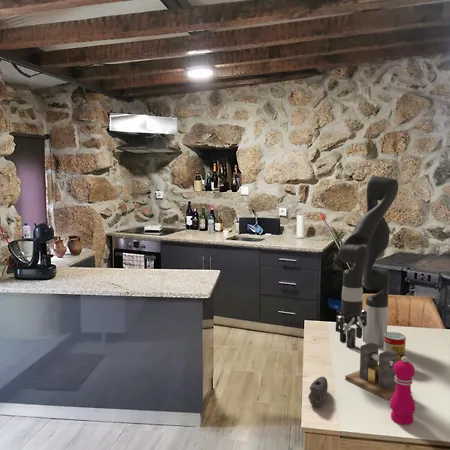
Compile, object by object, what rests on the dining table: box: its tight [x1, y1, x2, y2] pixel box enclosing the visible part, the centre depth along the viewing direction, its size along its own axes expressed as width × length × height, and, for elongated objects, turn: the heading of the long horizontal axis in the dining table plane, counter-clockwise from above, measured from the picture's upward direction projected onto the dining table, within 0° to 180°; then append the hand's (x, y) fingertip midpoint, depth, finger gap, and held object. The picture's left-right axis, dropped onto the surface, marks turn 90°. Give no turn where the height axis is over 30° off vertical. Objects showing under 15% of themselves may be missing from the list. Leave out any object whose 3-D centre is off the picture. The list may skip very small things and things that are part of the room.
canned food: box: [383, 331, 407, 362], centre depth 176 cm, size 8×8×12 cm
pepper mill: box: [389, 356, 416, 426], centre depth 137 cm, size 7×7×20 cm
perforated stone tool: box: [307, 376, 329, 408], centre depth 151 cm, size 15×5×7 cm, turn 155°
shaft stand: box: [344, 343, 398, 401], centre depth 160 cm, size 18×12×13 cm, turn 33°
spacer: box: [368, 363, 379, 384], centre depth 161 cm, size 3×5×5 cm, turn 123°
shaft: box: [345, 326, 394, 367], centre depth 163 cm, size 20×3×8 cm, turn 33°
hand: (351, 340), depth 169 cm, fingers open, 8 cm apart
